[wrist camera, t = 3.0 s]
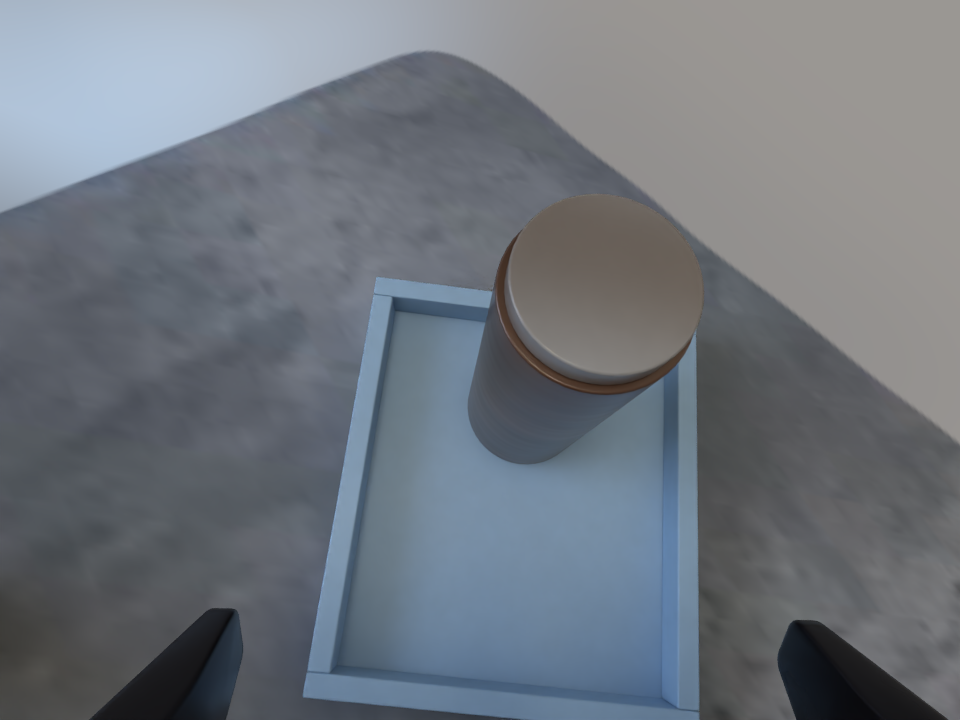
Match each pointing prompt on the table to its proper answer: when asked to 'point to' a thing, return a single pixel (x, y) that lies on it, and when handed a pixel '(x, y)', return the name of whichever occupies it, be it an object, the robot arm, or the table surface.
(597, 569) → the tray
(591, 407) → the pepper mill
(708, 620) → the table surface
